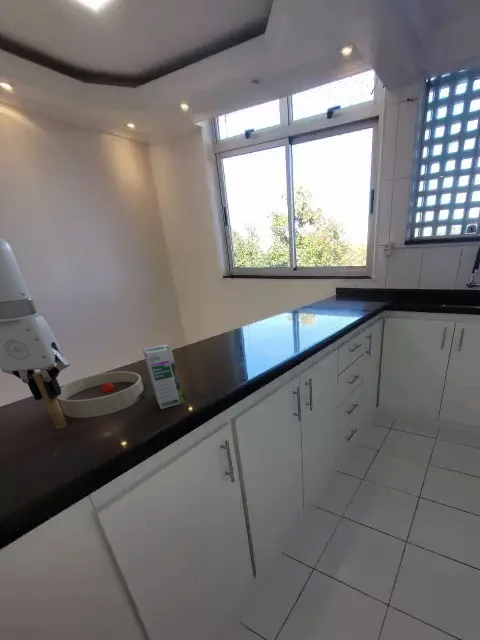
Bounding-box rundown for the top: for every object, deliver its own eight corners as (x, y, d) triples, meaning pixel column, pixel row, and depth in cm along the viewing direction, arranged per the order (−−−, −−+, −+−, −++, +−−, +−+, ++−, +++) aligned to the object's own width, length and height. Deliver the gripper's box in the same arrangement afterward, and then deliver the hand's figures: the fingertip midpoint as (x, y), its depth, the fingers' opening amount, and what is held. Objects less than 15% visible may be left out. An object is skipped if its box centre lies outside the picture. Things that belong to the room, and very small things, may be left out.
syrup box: (160, 410, 76) (145, 353, 69) (156, 401, 80) (141, 347, 74) (184, 403, 79) (171, 348, 72) (179, 395, 83) (166, 343, 77)
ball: (101, 396, 83) (98, 386, 82) (106, 391, 86) (103, 381, 85) (113, 395, 84) (109, 385, 82) (117, 390, 86) (114, 380, 85)
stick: (54, 429, 69) (29, 375, 64) (59, 424, 71) (36, 371, 66) (64, 428, 70) (40, 374, 64) (69, 423, 71) (47, 370, 66)
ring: (45, 421, 73) (37, 404, 71) (85, 388, 90) (80, 374, 88) (129, 414, 75) (124, 397, 73) (154, 383, 92) (150, 369, 90)
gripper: (-53, 316, 55) (-4, 408, 63) (43, 311, 56) (79, 401, 64) (-19, 309, 62) (21, 393, 70) (66, 304, 63) (96, 387, 71)
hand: (48, 396), depth 67 cm, fingers closed on stick, 2 cm apart
